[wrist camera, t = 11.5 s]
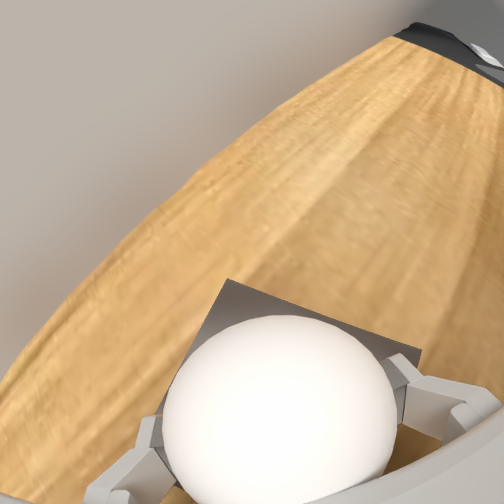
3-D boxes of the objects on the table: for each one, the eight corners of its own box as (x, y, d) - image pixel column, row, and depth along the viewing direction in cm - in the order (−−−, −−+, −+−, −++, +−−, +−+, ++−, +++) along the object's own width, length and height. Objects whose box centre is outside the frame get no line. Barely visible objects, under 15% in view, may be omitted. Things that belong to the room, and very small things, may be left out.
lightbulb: (247, 349, 16) (184, 242, 7) (356, 379, 15) (462, 312, 5) (208, 451, 13) (82, 493, 4) (321, 485, 12) (373, 589, 2)
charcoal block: (236, 304, 25) (227, 278, 21) (396, 364, 21) (421, 349, 17) (159, 452, 19) (131, 458, 15) (326, 523, 15) (337, 546, 11)
